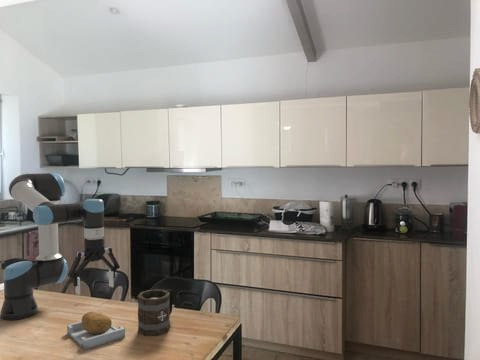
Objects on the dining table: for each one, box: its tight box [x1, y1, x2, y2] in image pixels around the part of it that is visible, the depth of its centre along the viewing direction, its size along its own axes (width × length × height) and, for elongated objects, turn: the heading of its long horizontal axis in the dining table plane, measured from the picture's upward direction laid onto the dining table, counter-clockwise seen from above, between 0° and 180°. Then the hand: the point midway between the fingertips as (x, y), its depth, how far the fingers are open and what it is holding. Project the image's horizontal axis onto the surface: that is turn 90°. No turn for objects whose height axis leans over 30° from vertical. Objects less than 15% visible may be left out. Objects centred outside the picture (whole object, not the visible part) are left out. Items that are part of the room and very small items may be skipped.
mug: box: [137, 288, 174, 337], centre depth 166 cm, size 20×14×15 cm
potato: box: [81, 311, 113, 335], centre depth 159 cm, size 10×14×8 cm
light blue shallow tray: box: [66, 320, 126, 351], centre depth 158 cm, size 19×16×4 cm
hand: (95, 290), depth 158 cm, fingers open, 13 cm apart
